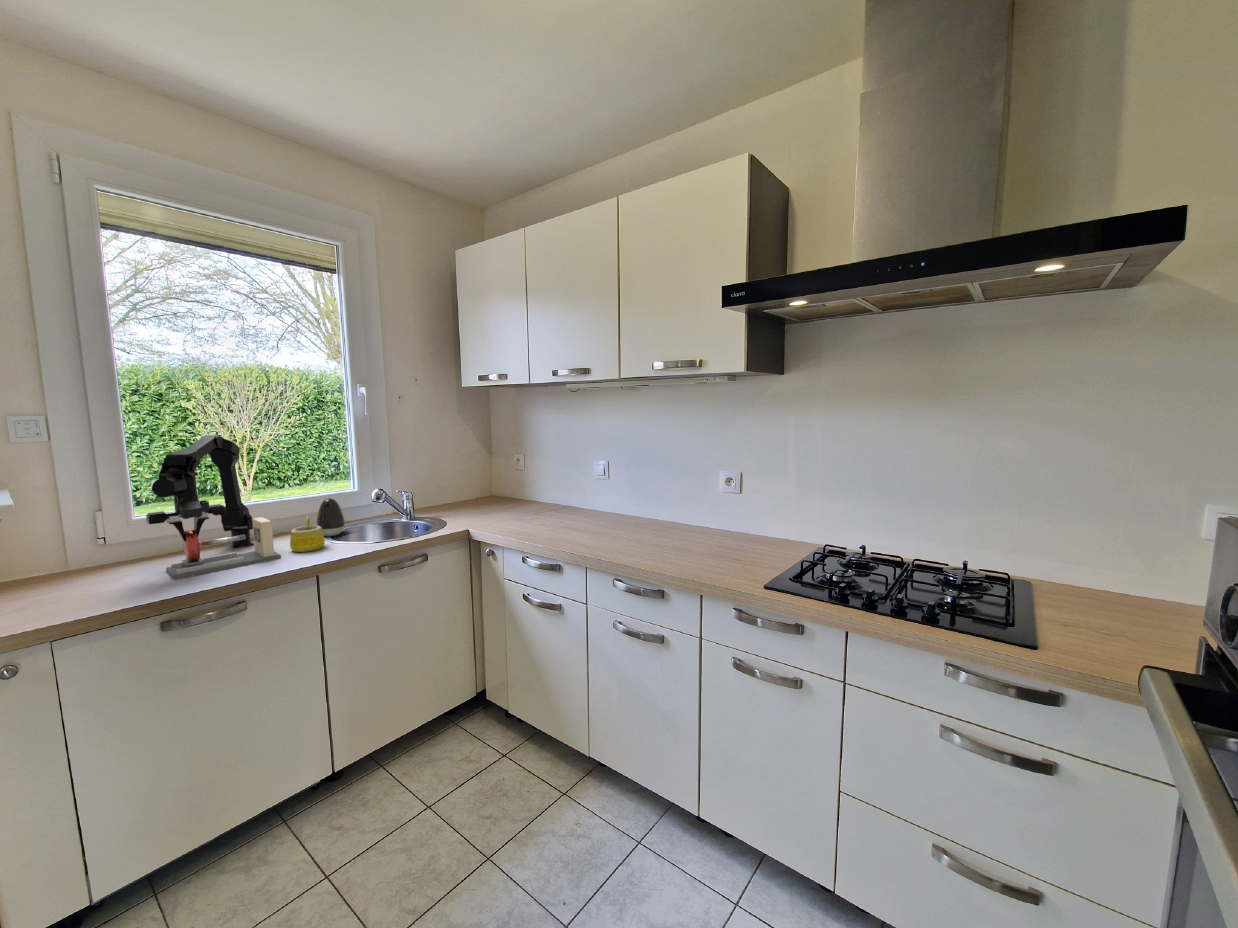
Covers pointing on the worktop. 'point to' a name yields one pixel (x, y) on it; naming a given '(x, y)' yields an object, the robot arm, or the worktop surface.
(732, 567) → the worktop surface
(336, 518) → the dark grey tall dome
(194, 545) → the red wheel on axle
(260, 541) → the block
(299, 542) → the yellow birthday cake
